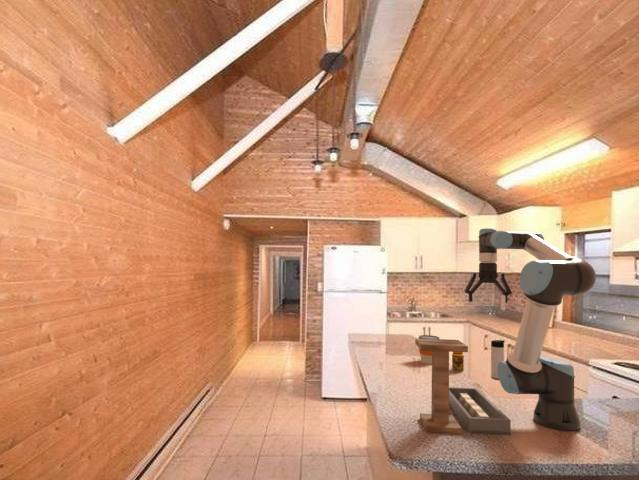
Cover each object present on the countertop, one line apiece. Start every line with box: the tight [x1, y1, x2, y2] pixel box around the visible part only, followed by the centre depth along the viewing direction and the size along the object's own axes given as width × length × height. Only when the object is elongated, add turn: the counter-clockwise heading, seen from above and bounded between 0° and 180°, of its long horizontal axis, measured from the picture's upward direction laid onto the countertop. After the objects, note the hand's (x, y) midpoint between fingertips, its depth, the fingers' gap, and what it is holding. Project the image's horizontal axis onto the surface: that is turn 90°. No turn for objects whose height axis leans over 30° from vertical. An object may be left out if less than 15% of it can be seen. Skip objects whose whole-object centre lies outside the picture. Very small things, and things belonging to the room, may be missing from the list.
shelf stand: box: [414, 337, 469, 435], centre depth 143 cm, size 12×16×30 cm
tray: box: [449, 386, 512, 436], centre depth 154 cm, size 35×14×5 cm, turn 176°
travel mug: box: [490, 339, 506, 381], centre depth 205 cm, size 6×7×20 cm
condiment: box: [449, 352, 467, 373], centre depth 220 cm, size 7×8×12 cm
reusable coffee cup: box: [418, 334, 440, 365], centre depth 237 cm, size 13×13×15 cm
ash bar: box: [459, 393, 489, 418], centre depth 155 cm, size 26×3×3 cm, turn 177°
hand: (487, 309), depth 178 cm, fingers open, 13 cm apart
